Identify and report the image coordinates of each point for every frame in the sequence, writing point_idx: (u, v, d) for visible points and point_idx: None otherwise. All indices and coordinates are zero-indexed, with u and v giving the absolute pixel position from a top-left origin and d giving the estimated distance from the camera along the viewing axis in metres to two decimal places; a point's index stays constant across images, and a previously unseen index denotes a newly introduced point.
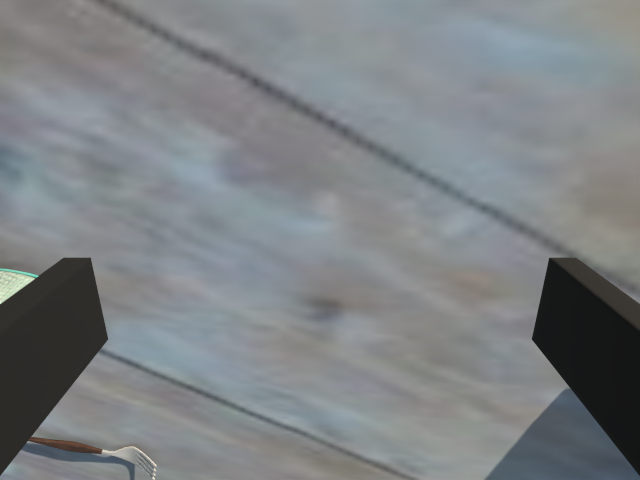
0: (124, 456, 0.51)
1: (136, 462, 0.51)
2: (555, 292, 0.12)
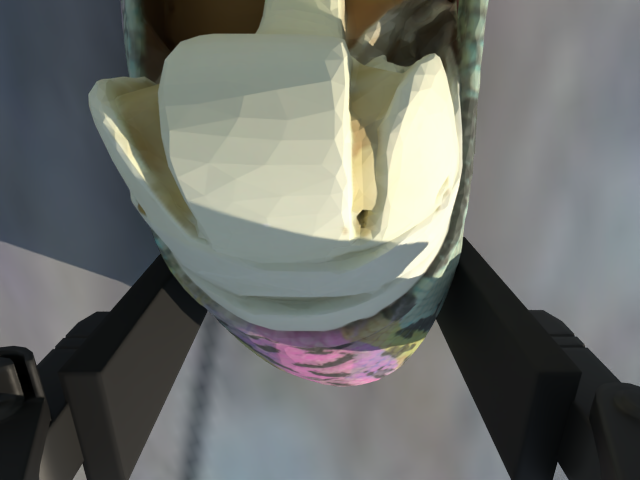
0: None
1: None
2: None
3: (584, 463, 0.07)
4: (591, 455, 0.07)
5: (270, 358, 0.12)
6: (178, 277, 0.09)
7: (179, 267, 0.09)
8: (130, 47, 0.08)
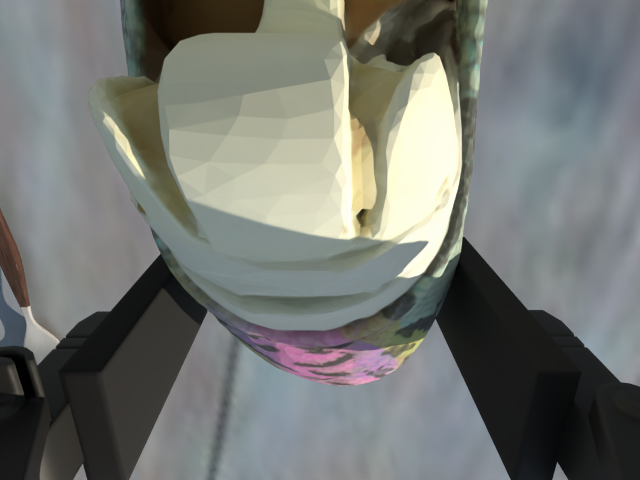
0: (33, 339, 0.28)
1: None
2: None
3: (584, 463, 0.07)
4: (591, 455, 0.07)
5: (270, 358, 0.12)
6: (178, 277, 0.09)
7: (179, 267, 0.09)
8: (130, 47, 0.08)
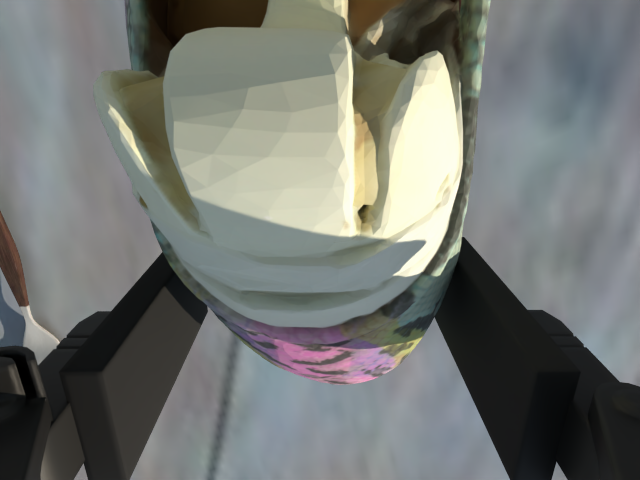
0: (32, 338, 0.28)
1: None
2: None
3: (583, 463, 0.07)
4: (590, 455, 0.07)
5: (268, 355, 0.12)
6: (178, 272, 0.09)
7: (179, 262, 0.09)
8: (134, 41, 0.08)
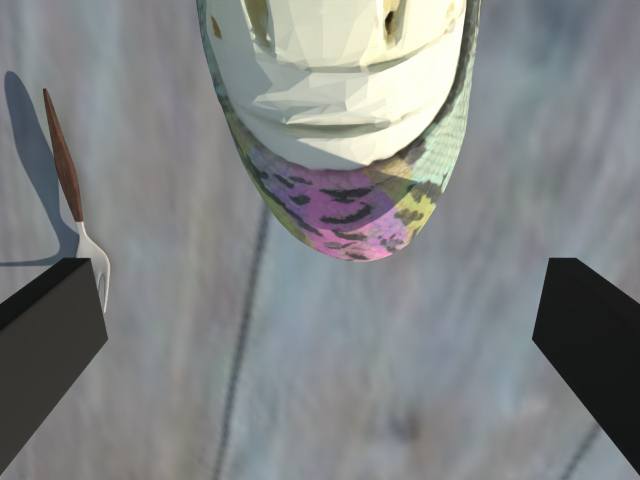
0: (84, 252, 0.32)
1: None
2: (555, 292, 0.12)
3: None
4: None
5: (300, 217, 0.14)
6: (233, 121, 0.11)
7: (234, 112, 0.11)
8: None
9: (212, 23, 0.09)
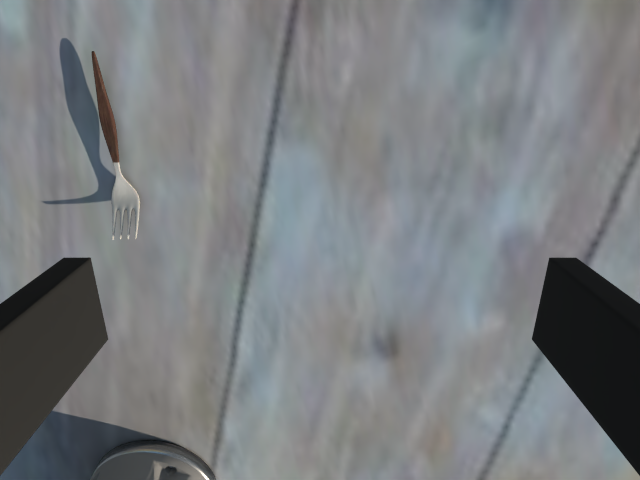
0: (119, 189, 0.39)
1: (117, 206, 0.40)
2: (555, 292, 0.12)
3: None
4: None
5: None
6: None
7: None
8: None
9: None
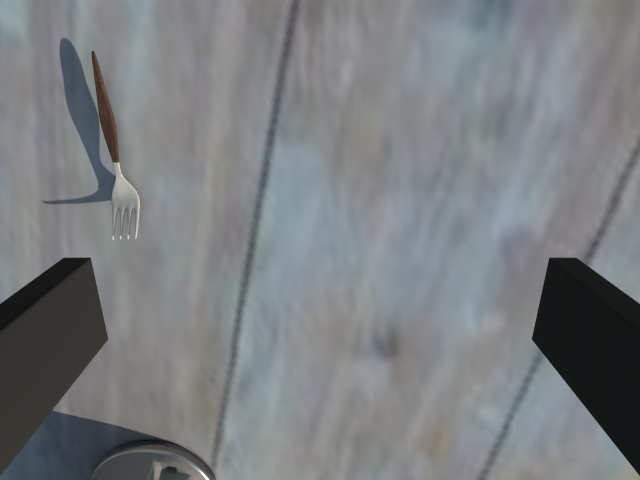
0: (119, 189, 0.39)
1: (117, 206, 0.40)
2: (555, 292, 0.12)
3: None
4: None
5: None
6: None
7: None
8: None
9: None
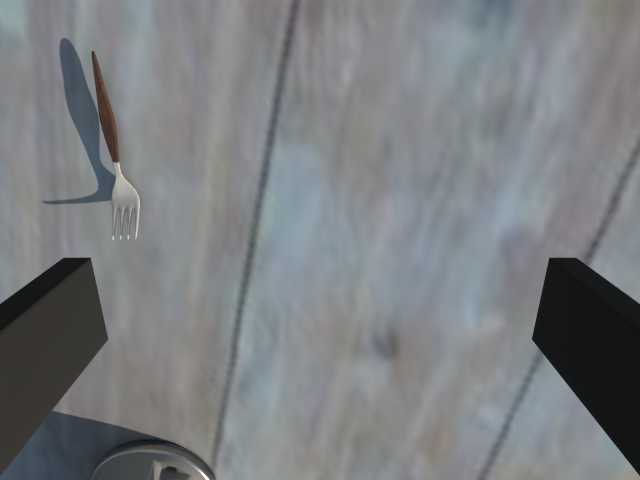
0: (119, 189, 0.39)
1: (117, 206, 0.40)
2: (555, 292, 0.12)
3: None
4: None
5: None
6: None
7: None
8: None
9: None
